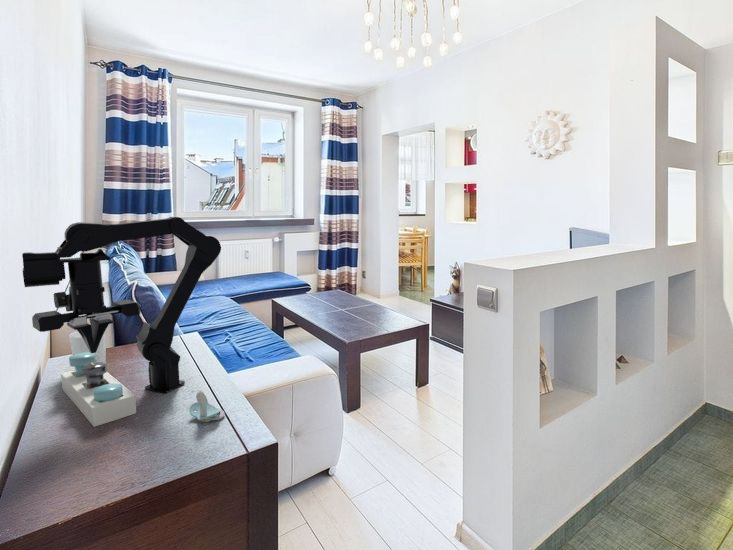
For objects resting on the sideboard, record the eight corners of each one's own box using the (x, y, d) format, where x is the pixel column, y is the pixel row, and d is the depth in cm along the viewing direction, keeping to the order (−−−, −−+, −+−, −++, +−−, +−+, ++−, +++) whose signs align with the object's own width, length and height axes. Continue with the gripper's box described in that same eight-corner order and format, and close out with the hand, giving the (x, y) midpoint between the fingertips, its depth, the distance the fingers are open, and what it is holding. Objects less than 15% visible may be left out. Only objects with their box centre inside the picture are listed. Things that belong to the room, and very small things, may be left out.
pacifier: (212, 407, 93) (186, 416, 88) (212, 380, 92) (185, 388, 87) (231, 418, 88) (203, 428, 83) (230, 389, 87) (203, 398, 82)
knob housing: (136, 413, 89) (135, 395, 88) (94, 426, 83) (92, 407, 83) (99, 379, 106) (98, 364, 105) (62, 389, 100) (60, 373, 99)
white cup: (106, 361, 118) (103, 326, 116) (109, 370, 112) (106, 333, 110) (72, 367, 113) (68, 331, 112) (73, 377, 107) (69, 339, 106)
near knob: (127, 409, 89) (126, 388, 88) (99, 418, 85) (97, 396, 84) (119, 401, 92) (117, 381, 91) (92, 409, 88) (89, 388, 87)
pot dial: (110, 385, 94) (108, 364, 93) (86, 392, 91) (84, 370, 90) (104, 379, 97) (102, 359, 96) (80, 385, 94) (78, 364, 93)
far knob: (100, 374, 100) (98, 356, 99) (74, 380, 96) (72, 361, 96) (93, 368, 104) (91, 350, 103) (68, 374, 100) (66, 356, 99)
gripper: (118, 273, 102) (124, 335, 104) (21, 283, 87) (30, 355, 90) (138, 278, 95) (143, 345, 97) (35, 290, 80) (45, 368, 83)
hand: (93, 352), depth 92 cm, fingers closed
